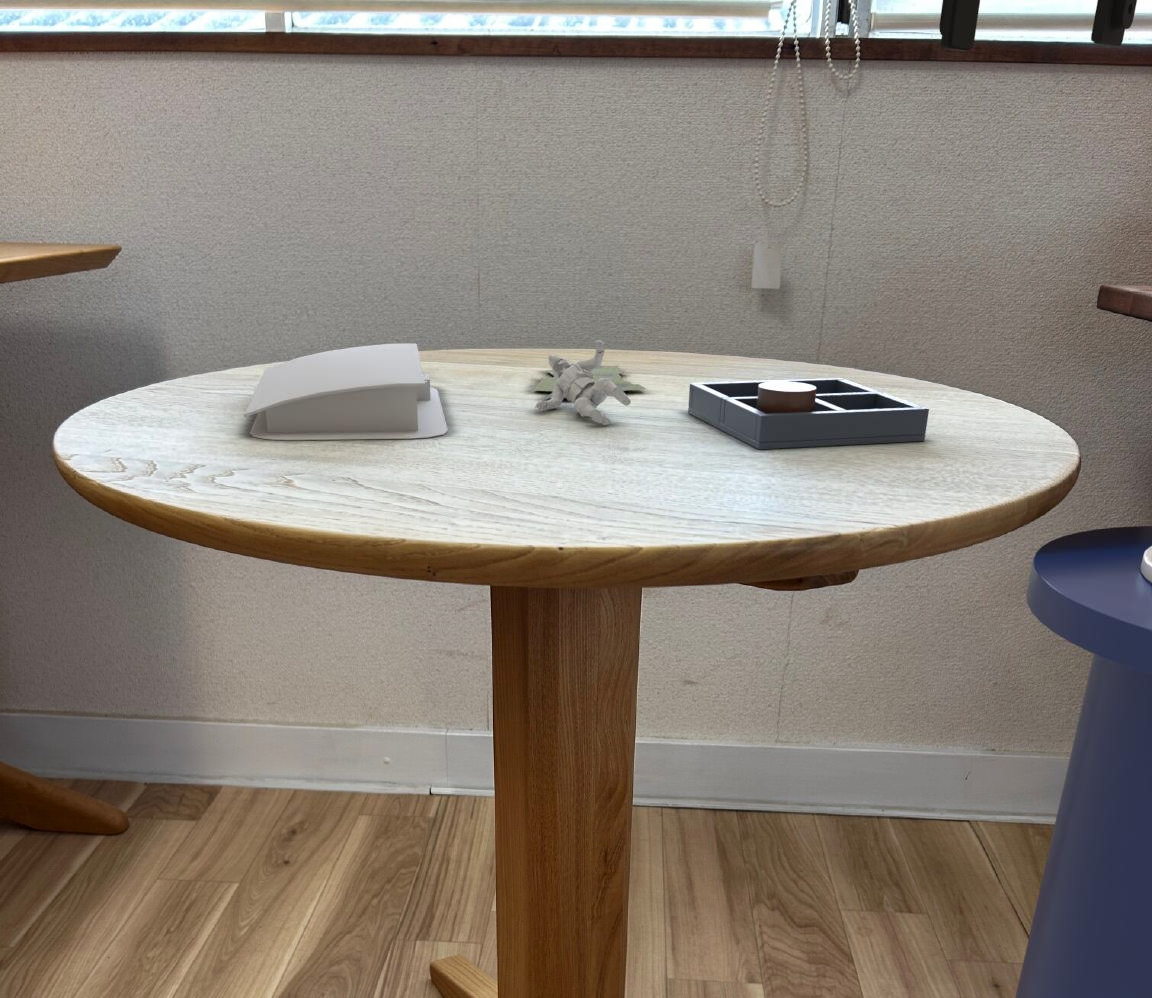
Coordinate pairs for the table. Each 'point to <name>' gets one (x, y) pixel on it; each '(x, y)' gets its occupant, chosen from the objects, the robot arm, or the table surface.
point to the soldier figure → (582, 386)
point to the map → (598, 373)
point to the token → (785, 397)
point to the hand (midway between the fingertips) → (1028, 47)
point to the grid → (809, 415)
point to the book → (348, 397)
